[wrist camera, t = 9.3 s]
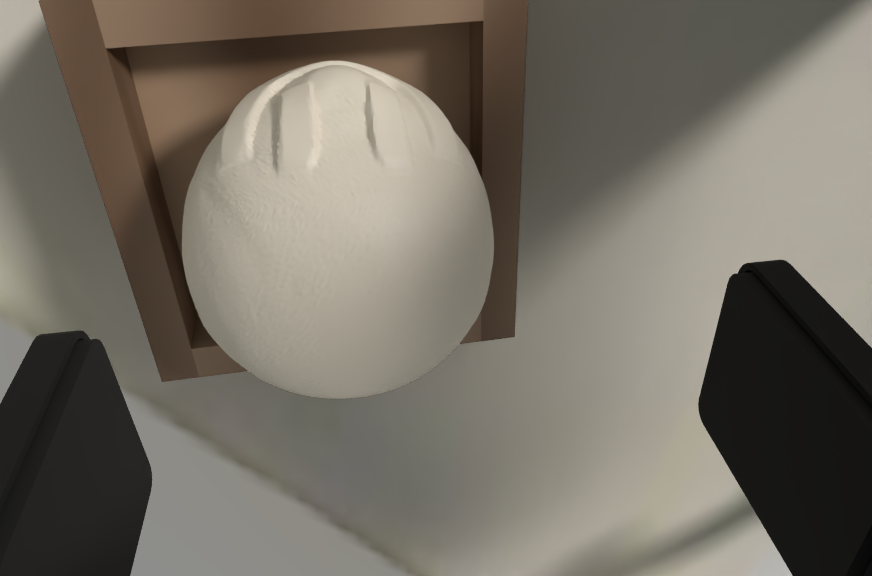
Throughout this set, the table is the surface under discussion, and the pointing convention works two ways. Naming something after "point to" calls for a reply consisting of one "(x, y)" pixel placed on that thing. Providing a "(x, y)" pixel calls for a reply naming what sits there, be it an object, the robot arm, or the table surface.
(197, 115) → the walnut block
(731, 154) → the table surface
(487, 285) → the steamed bun
